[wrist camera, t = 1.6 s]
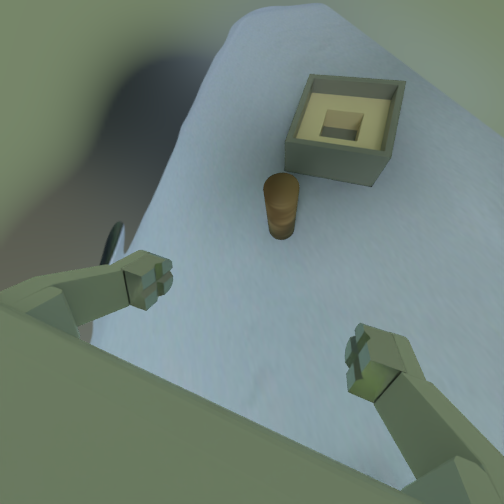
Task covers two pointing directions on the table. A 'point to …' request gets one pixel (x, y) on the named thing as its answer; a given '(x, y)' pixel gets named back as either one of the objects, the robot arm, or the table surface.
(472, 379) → the table surface
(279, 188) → the peg
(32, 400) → the robot arm
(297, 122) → the bore box
